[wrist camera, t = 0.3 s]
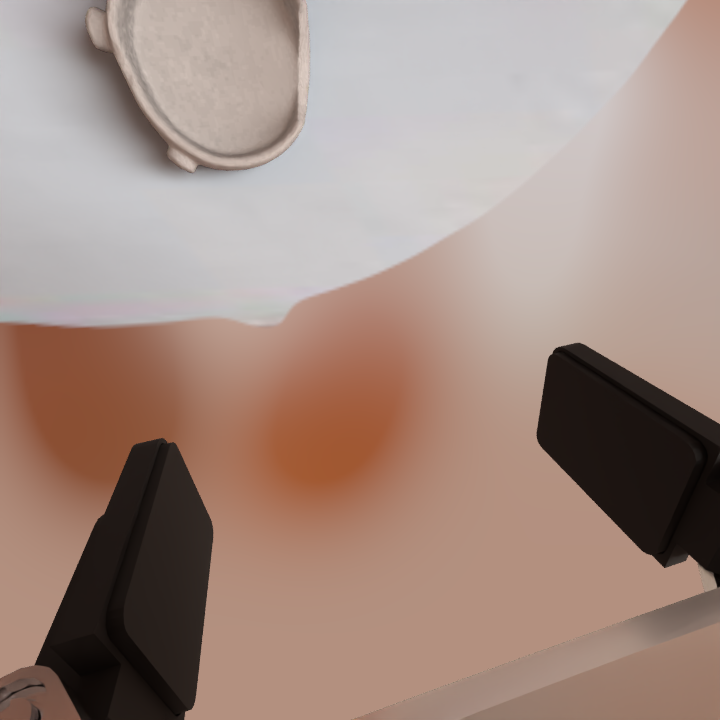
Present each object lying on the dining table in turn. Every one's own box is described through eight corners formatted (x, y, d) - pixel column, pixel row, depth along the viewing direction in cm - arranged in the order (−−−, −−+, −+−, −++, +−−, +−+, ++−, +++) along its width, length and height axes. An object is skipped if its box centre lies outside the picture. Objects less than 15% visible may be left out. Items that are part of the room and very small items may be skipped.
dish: (282, -77, 27) (288, -121, 23) (332, 145, 34) (343, 145, 30) (70, -35, 25) (33, -73, 21) (168, 188, 32) (155, 194, 28)
